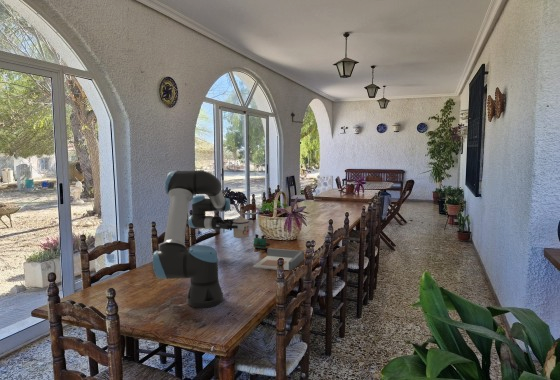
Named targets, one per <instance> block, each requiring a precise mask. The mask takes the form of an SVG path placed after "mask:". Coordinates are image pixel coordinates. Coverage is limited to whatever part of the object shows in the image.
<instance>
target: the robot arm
mask: <svg viewBox="0 0 560 380" xmlns="http://www.w3.org/2000/svg"><path fill="white" fill-rule="evenodd" d="M164 183H165V186H164V188H165V189H164V191H165V193H166V195H167V196H168V198H169V199H170V202H169V207H168V213H167V221H166V227H165V233H164V238H163V239H164V240H163V242H162V243H161V244H160V245H159V246H158V250H155V251H153V253H152V268H153V272H154V275H155V277H156V278H157V279H165V280H171V279H190V286H189V289H188V293H187V297H186V302H187V303H186V304H187V305H188V306H190V307H192V308H197V309H198V308H199V309H200V308H201V309H202V308H203V309H204V308H206V309H207V308H211V307H214V306H215V307H216V306H218V305H220V304H221V303H222V302H224V293H223V290H222V287H221V285H220V282H219V259H218V251H217V249H216V248H214V247H212V246H209V245H203V244H202V245H201V244H197V245H192V246H190V247H189V248H187V246H186V245H185V239H186V232H187V231H186V230H187V224H188V227H189V228H192V229H201V230H204V229H205V230H209V231H211V230H214V231H215V230H218V231H220V230H221V229H223V230H228V231H233V229H241V230H244V224H233V220H236V219H237V218H232V219H230V218H226V219H222V217H221V216H214V215H206V212H229V211H230V210H231V199H230V198H229V197H228V198H227V197H225V196H224V193H223V191H222V183H221V181H220V179H219V178H218V177H217V176H215V175H214V174H213V173H211V172H209V171H205V170H201V169H200V170H174V171H173V170H172V171H170V172H168V174H167V175H166V178H165V181H164ZM205 195H206V196H208V198H206V196H205ZM190 202H191V211H192V213H191V215H190V216H189V217H188V214H189V207H190ZM248 220H249V226H253V225H254V221H253V219H248Z"/></svg>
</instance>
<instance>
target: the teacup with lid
mask: <svg viewBox="0 0 560 380" xmlns="http://www.w3.org/2000/svg"><path fill="white" fill-rule="evenodd" d="M235 219H236V220H233V224H244V230H241V229H232V232H233V238H236V239H245V238H249V237H250V225H249V220H250V219H247V218H245V217H243V215H239V216H238V217H237V218H235Z"/></svg>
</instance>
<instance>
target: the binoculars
mask: <svg viewBox="0 0 560 380" xmlns="http://www.w3.org/2000/svg"><path fill="white" fill-rule="evenodd" d="M254 236H255V237H254V238H253V248H254V249H253V251H254V252H258V251H259V250H260V253H265V251H267V249H268V248H269V247H270V245H271V244H270V243H269V242H267V240H266V238H265V234H263V235H261V238H260V237H259V234H256V233H255V234H254Z"/></svg>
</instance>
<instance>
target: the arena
mask: <svg viewBox="0 0 560 380" xmlns="http://www.w3.org/2000/svg"><path fill="white" fill-rule="evenodd" d="M267 248H268V249H267V250H266V254H267V255H266V256H265V257H264V258H262V259H261V260H259V261H258V262H257V263H255V264H254V265H253V266H252V268H257V269H265V270H275V271H278V270H277V260H278V259H279V258H283V259H284V270H289V271H288V272H292V271H291V270H293V269H294V268H295V269H296V268H297V267H298V266H299V265H300V264H301V263H302V262H304V259H305V251H304V250H298V249H287V248H285V249H283V248H275V247H274V248H273V247H272V248H271V247H270V248H269V247H267ZM300 262H301V263H300ZM297 265H298V266H297ZM295 269H294V270H295ZM294 270H293V271H294Z"/></svg>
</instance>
